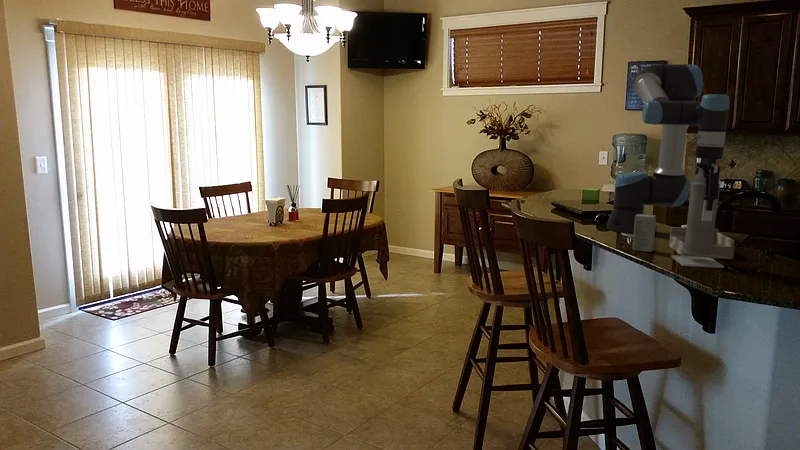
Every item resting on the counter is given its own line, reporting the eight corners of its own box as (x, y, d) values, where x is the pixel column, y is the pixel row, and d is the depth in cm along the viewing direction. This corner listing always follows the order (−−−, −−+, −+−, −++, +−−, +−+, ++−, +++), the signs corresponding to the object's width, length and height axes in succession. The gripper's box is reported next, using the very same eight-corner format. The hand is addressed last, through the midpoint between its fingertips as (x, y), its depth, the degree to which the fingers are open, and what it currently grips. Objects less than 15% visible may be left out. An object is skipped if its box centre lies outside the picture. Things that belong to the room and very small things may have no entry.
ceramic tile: (671, 256, 199) (671, 254, 198) (709, 258, 197) (709, 256, 197) (682, 265, 187) (683, 263, 187) (723, 267, 185) (723, 266, 185)
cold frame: (668, 246, 214) (670, 226, 213) (715, 248, 212) (717, 228, 211) (683, 256, 199) (685, 235, 198) (733, 258, 197) (735, 238, 196)
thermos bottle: (707, 251, 194) (717, 164, 189) (714, 256, 187) (726, 166, 182) (681, 249, 196) (690, 163, 191) (687, 255, 188) (697, 165, 183)
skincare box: (653, 250, 207) (657, 215, 205) (651, 252, 204) (654, 217, 201) (634, 247, 211) (637, 213, 209) (631, 249, 207) (634, 215, 205)
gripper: (686, 143, 196) (678, 212, 200) (709, 147, 175) (700, 223, 180) (710, 144, 195) (702, 213, 199) (737, 148, 174) (727, 225, 179)
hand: (701, 218), depth 189 cm, fingers closed on thermos bottle, 8 cm apart
